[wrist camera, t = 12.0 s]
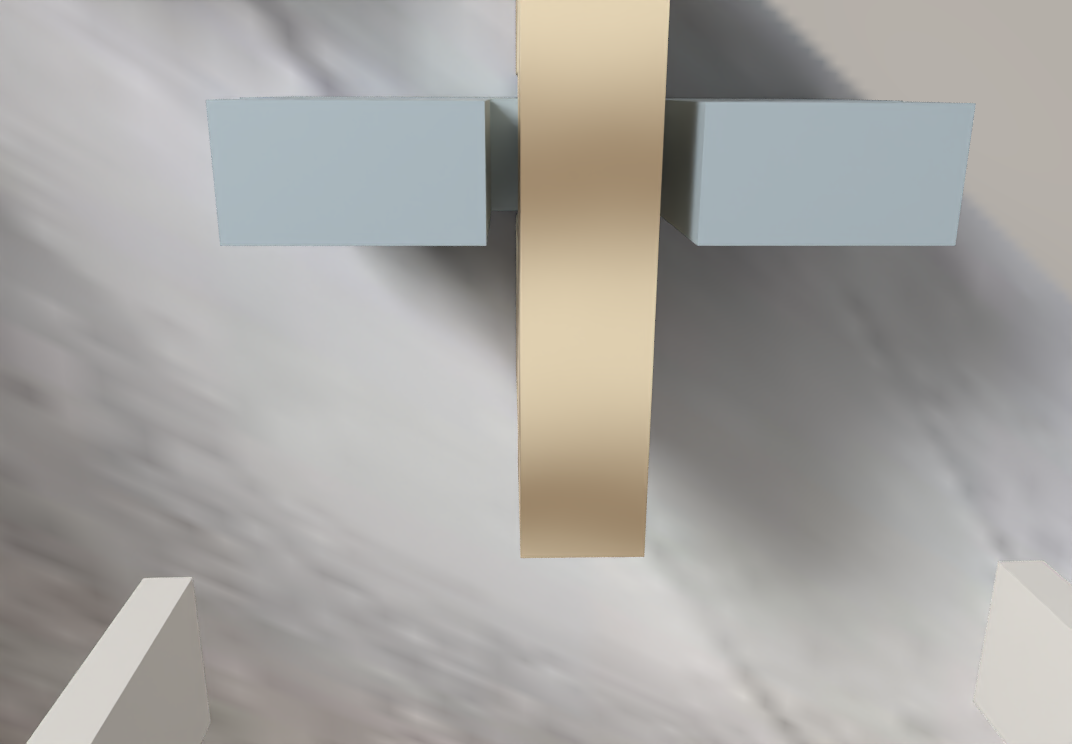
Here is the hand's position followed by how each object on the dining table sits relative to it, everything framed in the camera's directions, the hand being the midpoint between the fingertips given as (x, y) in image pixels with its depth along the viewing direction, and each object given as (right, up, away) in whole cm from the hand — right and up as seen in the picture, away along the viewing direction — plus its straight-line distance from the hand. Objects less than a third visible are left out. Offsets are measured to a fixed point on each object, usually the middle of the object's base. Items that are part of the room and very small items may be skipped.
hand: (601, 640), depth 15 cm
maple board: (0, +12, +16) cm, 20 cm away
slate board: (0, +12, +16) cm, 20 cm away
